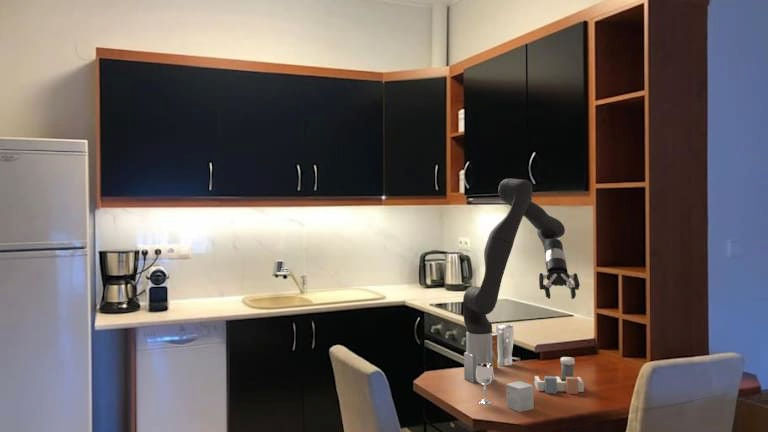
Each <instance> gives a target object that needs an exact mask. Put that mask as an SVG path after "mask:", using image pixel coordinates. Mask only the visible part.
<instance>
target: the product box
mask: <svg viewBox="0 0 768 432" xmlns="http://www.w3.org/2000/svg"><path fill="white" fill-rule="evenodd" d="M534 391H535V385H532V384H530V383H527V382H524V381H521V380H519V381H514V382H509V383H506V407H507V408H508V409H511V410H513V411H516V412H519V413H522V411H523V412H526V411H529V410H534V403H535V400H534V398H535V394H534V393H535V392H534Z"/></svg>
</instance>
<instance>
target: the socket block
mask: <svg viewBox="0 0 768 432" xmlns="http://www.w3.org/2000/svg"><path fill="white" fill-rule="evenodd" d="M533 384H534V387H535V388H536V390H537V392H545V394H557V393H558V392H565V393H566V394H568V395H572V394H573V395H579V393H580V392H581V393H583V392H585V386H584V385H585V382H584V380H582V378H581V377H580V376H574V377H566V382H563V381H561V378H560V376H551V375H550V376H547V375H544V380H541V379H540V377H539V375H534V381H533Z"/></svg>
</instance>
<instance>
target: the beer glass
mask: <svg viewBox="0 0 768 432" xmlns="http://www.w3.org/2000/svg"><path fill="white" fill-rule="evenodd" d="M495 334H497V335H498V357H497V366H501V367H512V366H513V356H512V355H513V354H512V353H513V347H514V341H515V339H514V338H515V335H514V325H511V324H503V323H502V324H497V325H496V326H495Z"/></svg>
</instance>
